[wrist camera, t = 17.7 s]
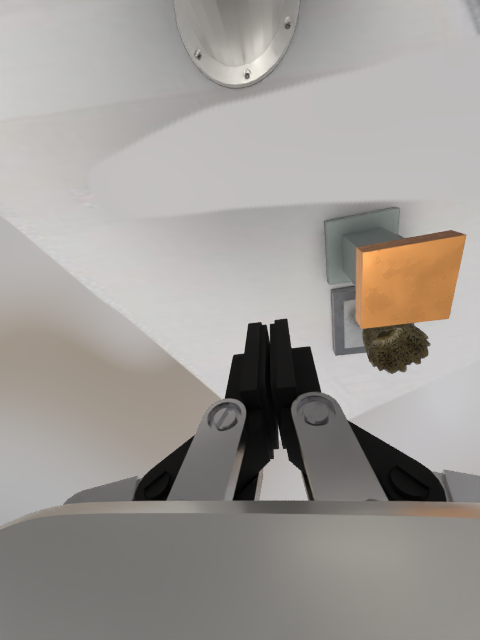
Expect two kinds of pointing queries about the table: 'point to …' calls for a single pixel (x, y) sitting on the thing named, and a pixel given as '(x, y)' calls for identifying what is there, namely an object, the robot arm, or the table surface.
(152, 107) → the table surface
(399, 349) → the wire cup brush
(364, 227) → the press stand
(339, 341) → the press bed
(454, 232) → the handle
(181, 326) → the table surface
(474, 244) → the table surface
